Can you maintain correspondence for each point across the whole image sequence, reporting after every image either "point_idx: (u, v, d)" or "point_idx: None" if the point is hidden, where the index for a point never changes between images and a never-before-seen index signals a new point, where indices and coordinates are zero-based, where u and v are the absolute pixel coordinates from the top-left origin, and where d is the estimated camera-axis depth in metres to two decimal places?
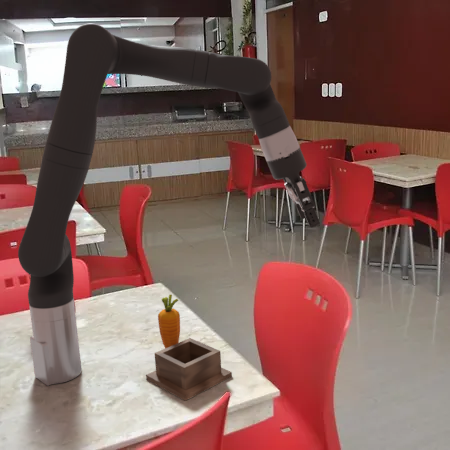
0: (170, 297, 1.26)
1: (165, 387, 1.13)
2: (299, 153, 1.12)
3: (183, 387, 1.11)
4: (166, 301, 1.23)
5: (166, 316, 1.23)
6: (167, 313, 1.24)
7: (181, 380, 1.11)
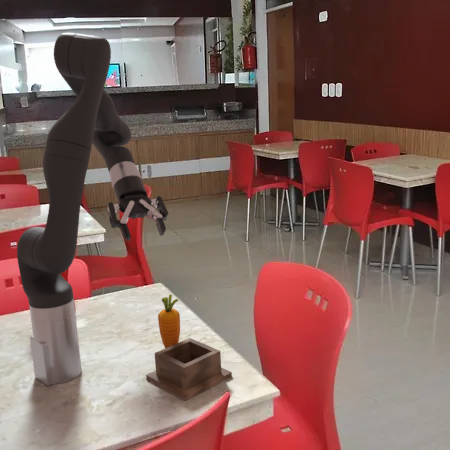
0: (170, 297, 1.26)
1: (165, 387, 1.13)
2: None
3: (183, 387, 1.11)
4: (166, 301, 1.23)
5: (166, 316, 1.23)
6: (167, 313, 1.24)
7: (181, 380, 1.11)
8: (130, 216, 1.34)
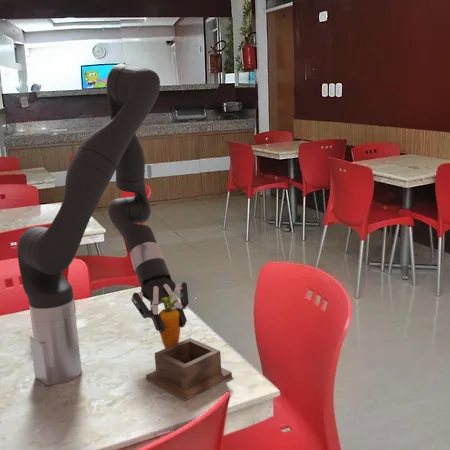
0: (170, 297, 1.26)
1: (165, 387, 1.13)
2: None
3: (183, 387, 1.11)
4: (166, 301, 1.23)
5: (166, 316, 1.23)
6: (167, 313, 1.24)
7: (181, 380, 1.11)
8: (158, 302, 1.27)
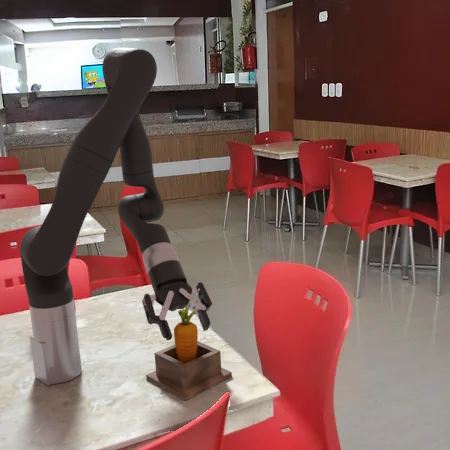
0: (187, 309, 1.16)
1: (165, 387, 1.13)
2: None
3: (183, 387, 1.11)
4: (184, 314, 1.13)
5: (184, 330, 1.13)
6: (184, 327, 1.13)
7: (181, 380, 1.11)
8: (169, 309, 1.16)
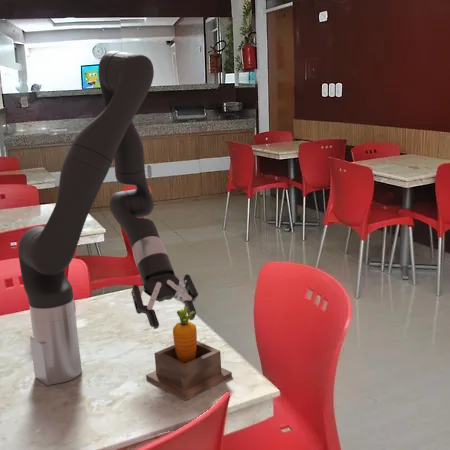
0: (185, 309, 1.16)
1: (165, 387, 1.13)
2: None
3: (183, 387, 1.11)
4: (182, 314, 1.13)
5: (183, 330, 1.13)
6: (183, 327, 1.13)
7: (181, 380, 1.11)
8: (157, 299, 1.22)
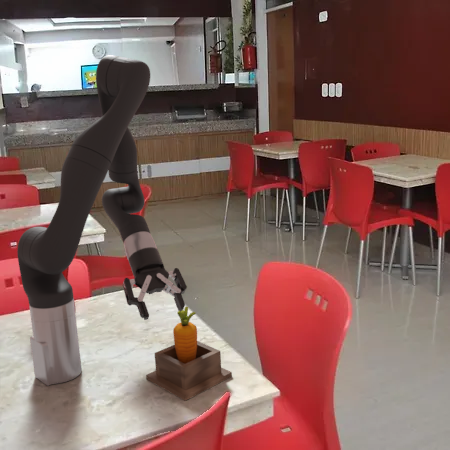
0: (186, 310, 1.15)
1: (165, 387, 1.13)
2: None
3: (183, 387, 1.11)
4: (183, 315, 1.12)
5: (183, 331, 1.13)
6: (184, 328, 1.13)
7: (181, 380, 1.11)
8: (147, 292, 1.27)
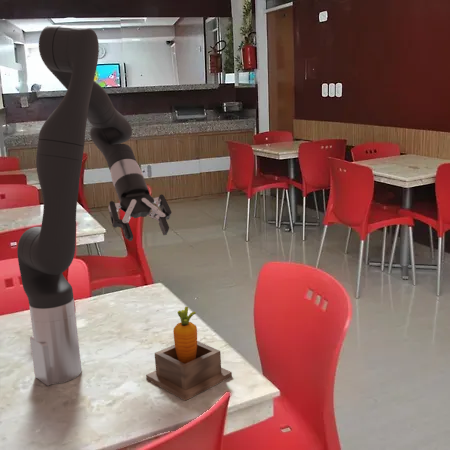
0: (186, 309, 1.15)
1: (165, 387, 1.13)
2: None
3: (183, 387, 1.11)
4: (183, 314, 1.13)
5: (183, 330, 1.13)
6: (184, 327, 1.13)
7: (181, 380, 1.11)
8: (132, 215, 1.30)
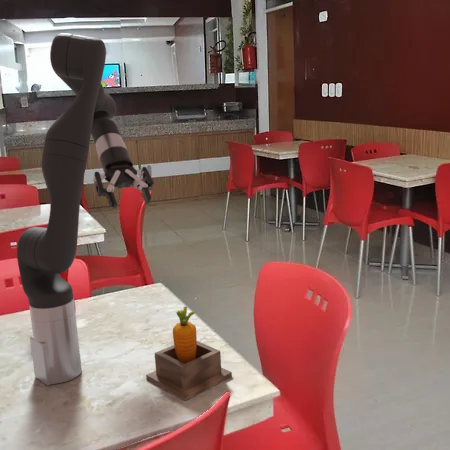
0: (185, 309, 1.15)
1: (165, 387, 1.13)
2: None
3: (183, 387, 1.11)
4: (182, 314, 1.13)
5: (183, 330, 1.13)
6: (183, 327, 1.13)
7: (181, 380, 1.11)
8: (116, 185, 1.37)
